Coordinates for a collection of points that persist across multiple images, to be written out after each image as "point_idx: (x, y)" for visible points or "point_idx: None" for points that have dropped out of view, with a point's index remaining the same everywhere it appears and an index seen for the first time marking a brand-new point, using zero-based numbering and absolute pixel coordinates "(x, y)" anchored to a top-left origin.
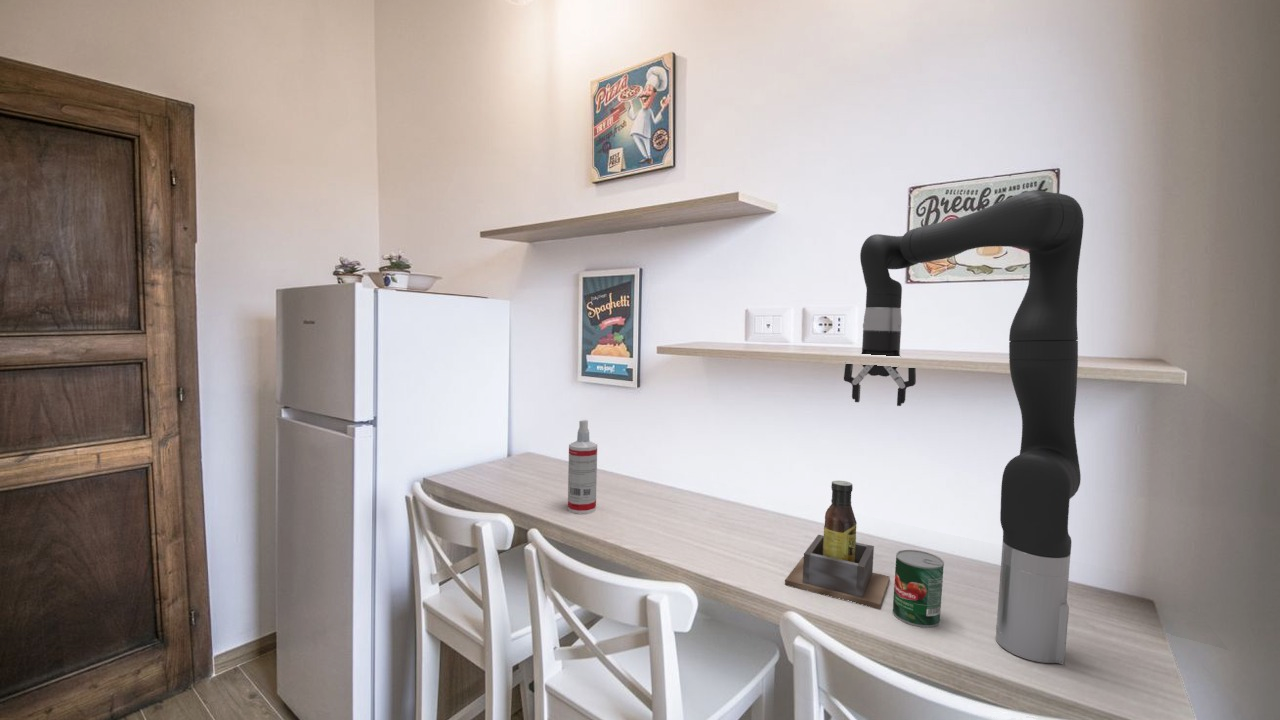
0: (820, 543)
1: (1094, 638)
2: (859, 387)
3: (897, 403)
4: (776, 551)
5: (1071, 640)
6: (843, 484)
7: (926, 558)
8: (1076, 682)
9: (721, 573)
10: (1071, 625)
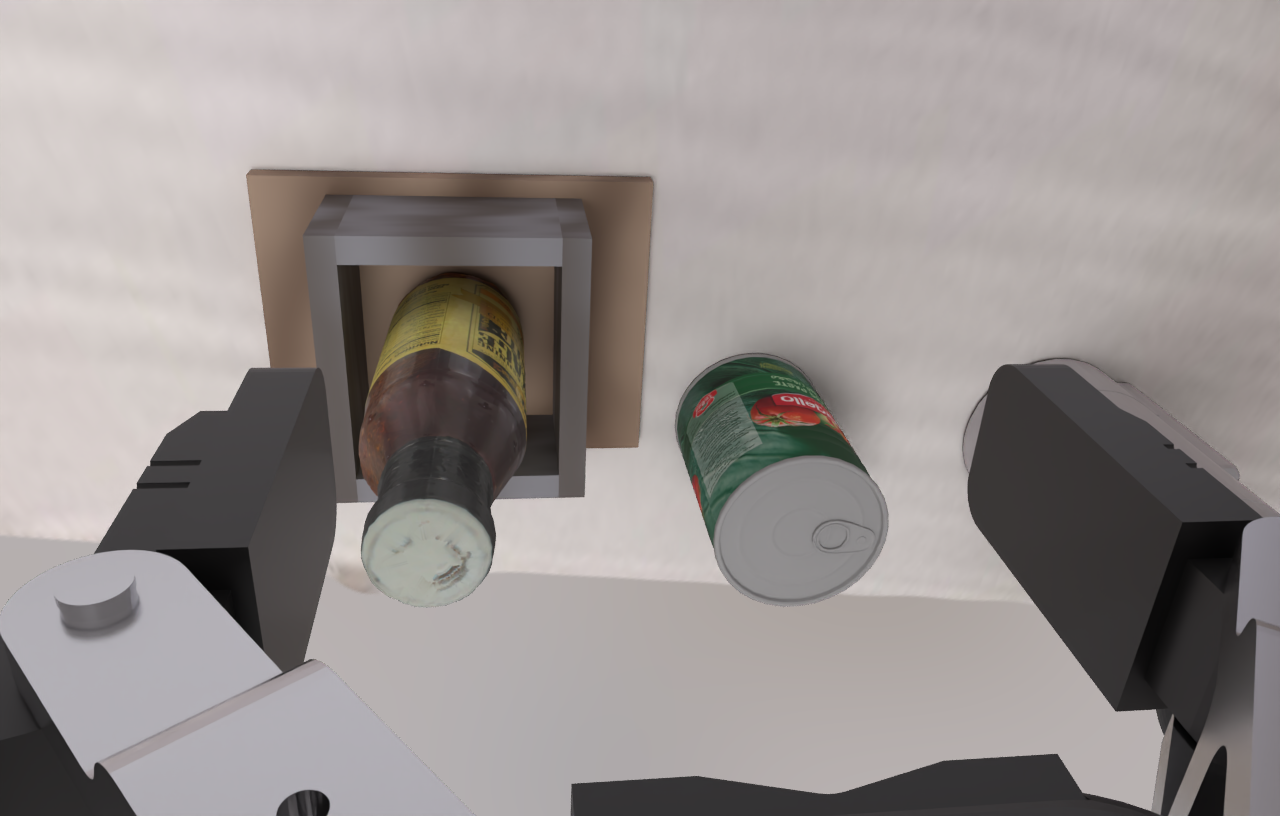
0: (342, 303)
1: (1264, 262)
2: (276, 633)
3: (985, 533)
4: (85, 120)
5: (1185, 316)
6: (447, 594)
7: (827, 508)
8: None
9: (24, 486)
10: (1234, 202)
